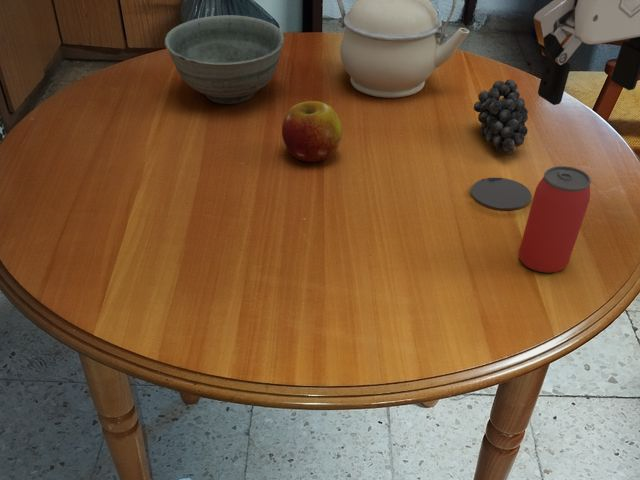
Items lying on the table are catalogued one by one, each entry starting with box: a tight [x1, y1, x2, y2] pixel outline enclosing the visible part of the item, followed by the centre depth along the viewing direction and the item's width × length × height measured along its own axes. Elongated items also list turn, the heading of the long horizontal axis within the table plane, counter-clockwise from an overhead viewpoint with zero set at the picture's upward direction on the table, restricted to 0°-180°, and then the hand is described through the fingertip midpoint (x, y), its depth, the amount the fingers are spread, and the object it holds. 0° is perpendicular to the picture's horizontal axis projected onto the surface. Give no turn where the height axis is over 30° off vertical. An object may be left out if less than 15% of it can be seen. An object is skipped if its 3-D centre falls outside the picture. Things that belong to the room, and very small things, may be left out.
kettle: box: [336, 0, 470, 99], centre depth 120 cm, size 25×18×25 cm
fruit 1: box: [281, 100, 343, 163], centre depth 107 cm, size 10×9×8 cm
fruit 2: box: [473, 79, 529, 156], centre depth 111 cm, size 9×8×15 cm
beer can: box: [518, 165, 592, 274], centre depth 86 cm, size 7×7×12 cm
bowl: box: [164, 14, 285, 105], centre depth 121 cm, size 21×21×10 cm
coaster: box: [470, 177, 532, 211], centre depth 102 cm, size 9×9×1 cm
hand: (586, 92), depth 72 cm, fingers open, 9 cm apart
